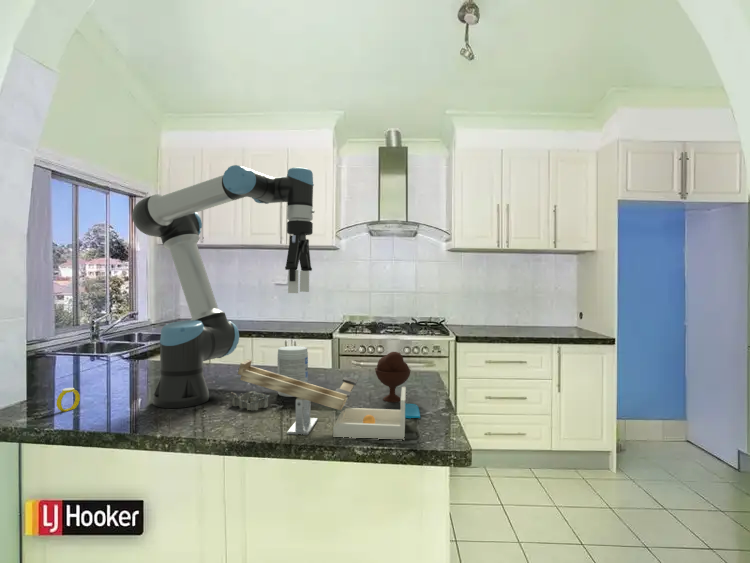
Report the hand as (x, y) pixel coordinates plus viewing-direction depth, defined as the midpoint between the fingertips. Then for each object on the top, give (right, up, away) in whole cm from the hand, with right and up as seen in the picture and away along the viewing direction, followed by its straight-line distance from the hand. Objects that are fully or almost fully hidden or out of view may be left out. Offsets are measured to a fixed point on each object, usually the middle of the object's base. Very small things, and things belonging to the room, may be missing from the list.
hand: (299, 292), depth 135 cm
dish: (+22, -33, -24) cm, 46 cm away
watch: (-62, -32, -11) cm, 70 cm away
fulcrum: (+5, -33, -22) cm, 40 cm away
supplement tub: (-4, -33, +10) cm, 34 cm away
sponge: (+33, -34, -8) cm, 48 cm away
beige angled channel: (+3, -24, -12) cm, 27 cm away
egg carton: (-13, -33, -4) cm, 36 cm away
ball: (+21, -31, -24) cm, 44 cm away
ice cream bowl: (+28, -33, +4) cm, 44 cm away
